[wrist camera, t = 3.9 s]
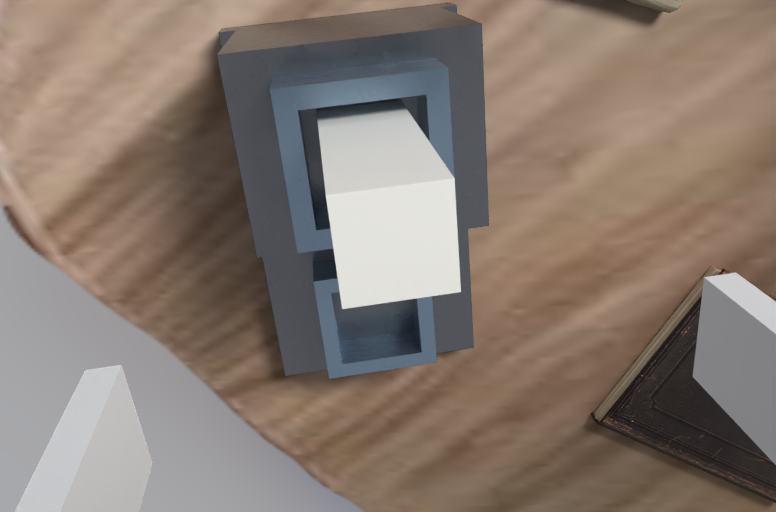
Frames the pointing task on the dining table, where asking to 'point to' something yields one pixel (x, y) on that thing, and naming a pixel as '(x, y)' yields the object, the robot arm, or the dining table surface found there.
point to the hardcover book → (684, 407)
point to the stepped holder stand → (306, 180)
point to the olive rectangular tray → (659, 4)
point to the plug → (387, 206)
